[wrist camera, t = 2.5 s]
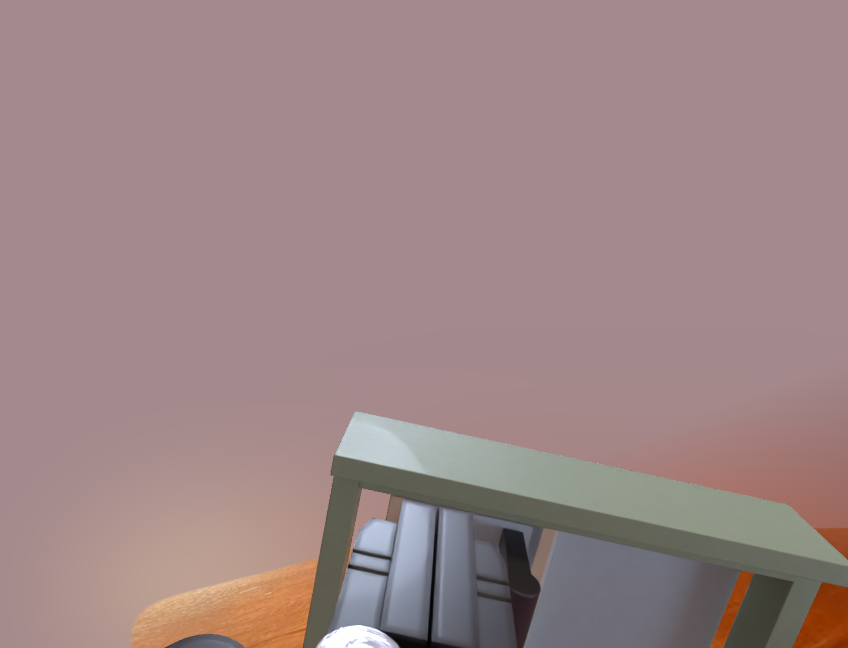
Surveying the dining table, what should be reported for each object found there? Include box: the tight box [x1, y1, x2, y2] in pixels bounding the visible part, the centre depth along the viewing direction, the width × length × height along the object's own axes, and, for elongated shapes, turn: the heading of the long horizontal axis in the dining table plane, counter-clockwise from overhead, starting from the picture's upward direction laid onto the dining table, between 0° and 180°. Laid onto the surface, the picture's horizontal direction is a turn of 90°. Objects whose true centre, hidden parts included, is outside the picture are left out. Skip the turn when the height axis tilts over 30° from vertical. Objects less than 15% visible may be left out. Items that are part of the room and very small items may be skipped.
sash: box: [386, 495, 557, 648], centre depth 25 cm, size 5×8×14 cm, turn 86°
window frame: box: [303, 412, 848, 648], centre depth 27 cm, size 6×22×17 cm, turn 86°
